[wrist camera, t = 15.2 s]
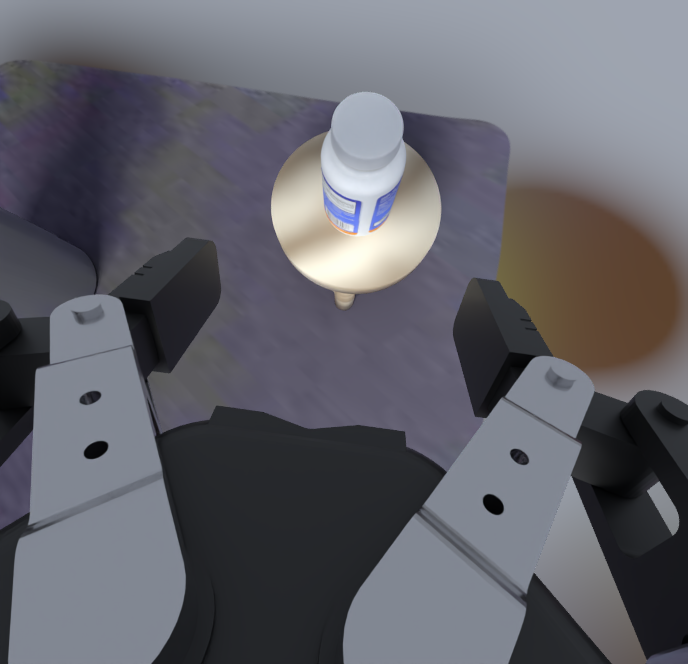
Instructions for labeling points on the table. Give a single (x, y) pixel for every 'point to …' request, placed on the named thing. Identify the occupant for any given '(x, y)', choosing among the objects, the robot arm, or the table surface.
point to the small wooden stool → (344, 250)
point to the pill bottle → (362, 163)
